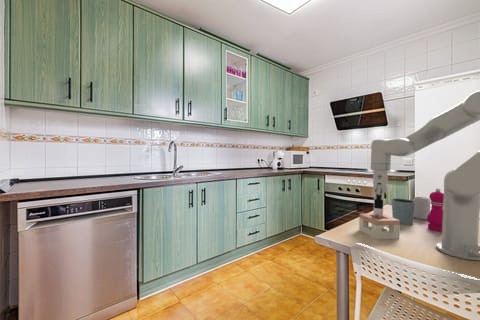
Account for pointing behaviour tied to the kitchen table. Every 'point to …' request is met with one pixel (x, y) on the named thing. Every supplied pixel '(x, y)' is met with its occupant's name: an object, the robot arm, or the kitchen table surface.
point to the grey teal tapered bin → (403, 210)
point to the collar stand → (379, 226)
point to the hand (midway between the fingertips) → (378, 206)
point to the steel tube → (378, 211)
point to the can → (421, 208)
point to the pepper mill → (436, 211)
